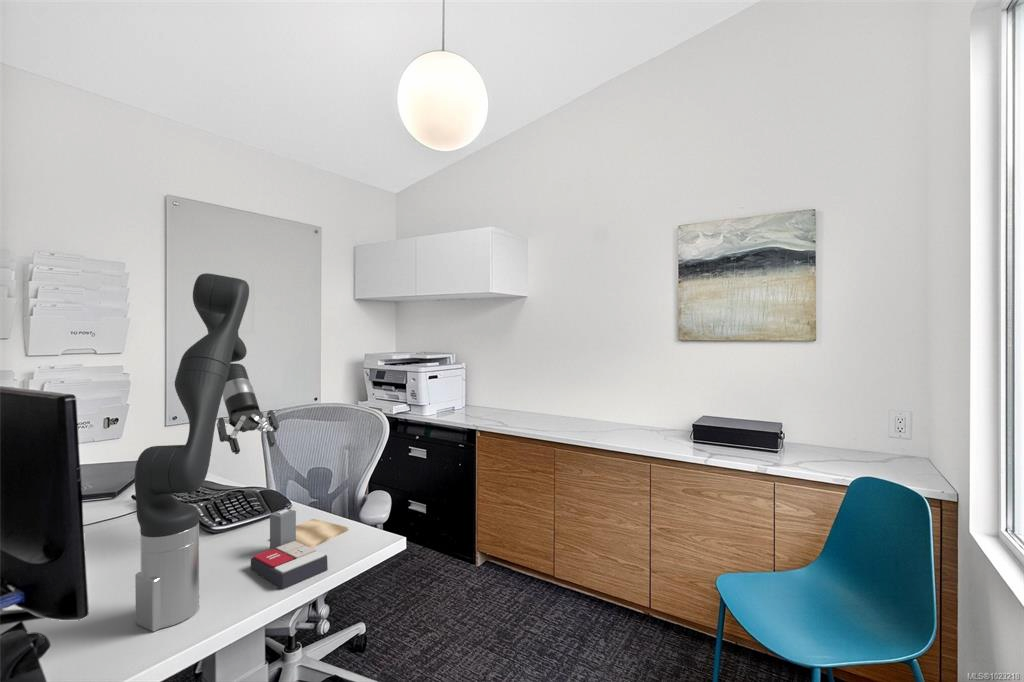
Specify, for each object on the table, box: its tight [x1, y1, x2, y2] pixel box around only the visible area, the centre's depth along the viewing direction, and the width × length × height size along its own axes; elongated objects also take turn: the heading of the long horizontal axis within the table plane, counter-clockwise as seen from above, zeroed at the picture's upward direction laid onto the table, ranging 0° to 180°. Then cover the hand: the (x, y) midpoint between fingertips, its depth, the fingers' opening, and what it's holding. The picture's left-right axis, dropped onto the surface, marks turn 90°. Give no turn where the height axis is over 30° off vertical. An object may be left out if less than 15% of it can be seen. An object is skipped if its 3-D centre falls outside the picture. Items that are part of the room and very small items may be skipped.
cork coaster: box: [296, 518, 349, 549], centre depth 127 cm, size 14×14×1 cm
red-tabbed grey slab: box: [250, 541, 329, 591], centre depth 108 cm, size 11×4×15 cm
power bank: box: [269, 508, 297, 550], centre depth 117 cm, size 4×4×10 cm
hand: (255, 449), depth 123 cm, fingers open, 8 cm apart
